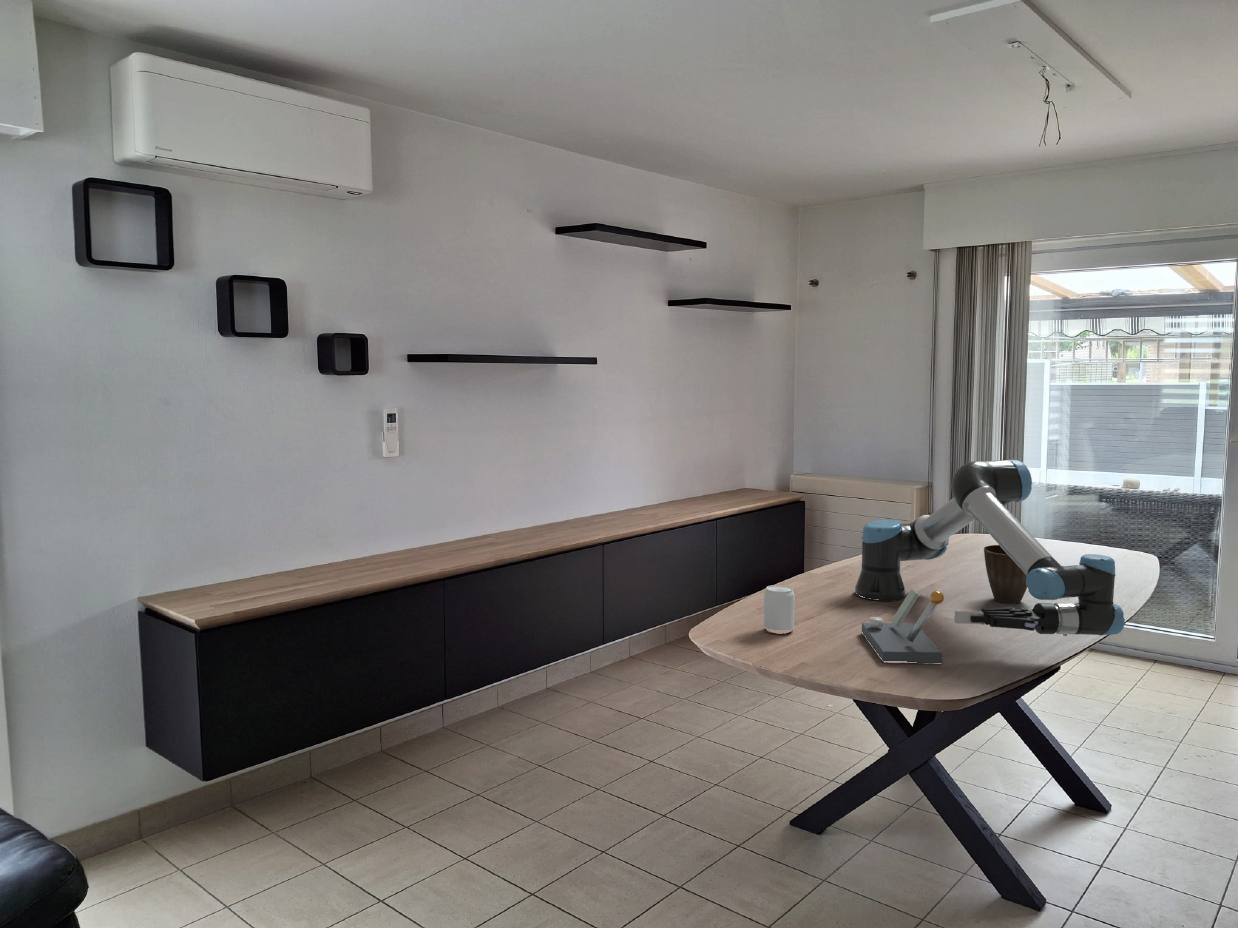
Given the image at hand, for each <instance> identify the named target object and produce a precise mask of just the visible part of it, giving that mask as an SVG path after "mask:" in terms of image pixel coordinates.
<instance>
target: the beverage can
mask: <svg viewBox="0 0 1238 928" xmlns="http://www.w3.org/2000/svg"><path fill="white" fill-rule="evenodd" d="M765 587H766V588H765V590H764V592H763V593H764V594H763V596H764V597H763V627H764V626H765V627H767V628H768V629H773V630H791V629H793V628H795V599H796V598H795V597H796V596H795V592H794V588H793V587H791V586H789V585H783V584H781V585H780V584H774V585H773V584H772V585H768V586H765Z"/></svg>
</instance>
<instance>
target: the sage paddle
mask: <svg viewBox="0 0 1238 928" xmlns="http://www.w3.org/2000/svg"><path fill="white" fill-rule="evenodd" d="M919 597H920V594H919V593H918V592H917V591H915V590H914V588H911V589H910V591H909V592H908V593H907V595H906V596H905V598H904V600H903V601H902V603H901V605H899V608H898V609H897V611H896V612H895V614H894V615H893V617H892V618H891V623H894V624H895V625H896V626H898V627H899V626H900V625H901V623H903V621H904V620H905V618H906V617H907V615H908V613H910V610H911V609H912V607H913V606H914V604H915V603H916V601H917V600H918V598H919Z"/></svg>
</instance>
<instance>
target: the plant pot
mask: <svg viewBox="0 0 1238 928" xmlns="http://www.w3.org/2000/svg"><path fill="white" fill-rule="evenodd" d="M983 555H984V556H983V557H984V564H985V570H986V575H987V580H988V582H989V587H990V589H991V592H992V597H993V598H994V600H995V601H996V602H998V603H1003V604H1011V605H1012V604H1020V603H1021V601H1022V600H1023V598H1024V595H1025V593H1026V591H1027V589H1028V587H1027V586H1026V578H1027V575H1026V574H1025V573H1024V572H1023V571H1022V570H1021V569H1020V568H1019V566H1018V565H1017V564H1016V563H1015V562H1014V561H1013V560H1012V559H1011V558H1010V556H1009V555H1008V554H1007V553H1006V552H1005V551H1004V550H1003V549H1002V548H1001V546H1000V545H999V544H993V545H986V546H984V547H983Z"/></svg>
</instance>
